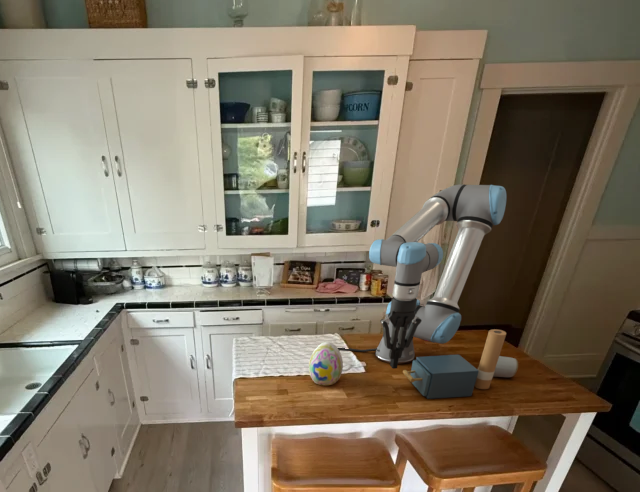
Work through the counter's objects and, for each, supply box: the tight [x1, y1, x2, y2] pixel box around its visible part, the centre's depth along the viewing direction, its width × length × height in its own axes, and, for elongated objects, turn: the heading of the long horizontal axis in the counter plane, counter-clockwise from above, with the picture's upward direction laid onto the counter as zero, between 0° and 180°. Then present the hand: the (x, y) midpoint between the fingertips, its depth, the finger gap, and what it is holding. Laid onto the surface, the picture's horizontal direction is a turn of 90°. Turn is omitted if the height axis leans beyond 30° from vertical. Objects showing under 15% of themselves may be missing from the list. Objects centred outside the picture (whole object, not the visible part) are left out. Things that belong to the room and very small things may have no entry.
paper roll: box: [474, 328, 507, 390], centre depth 146 cm, size 5×5×20 cm
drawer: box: [402, 359, 432, 397], centre depth 148 cm, size 19×12×8 cm, turn 95°
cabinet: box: [415, 354, 479, 400], centre depth 148 cm, size 16×14×10 cm
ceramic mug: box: [493, 355, 519, 378], centre depth 157 cm, size 11×8×8 cm
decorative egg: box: [308, 341, 344, 387], centre depth 154 cm, size 12×12×15 cm
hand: (393, 366), depth 145 cm, fingers closed
